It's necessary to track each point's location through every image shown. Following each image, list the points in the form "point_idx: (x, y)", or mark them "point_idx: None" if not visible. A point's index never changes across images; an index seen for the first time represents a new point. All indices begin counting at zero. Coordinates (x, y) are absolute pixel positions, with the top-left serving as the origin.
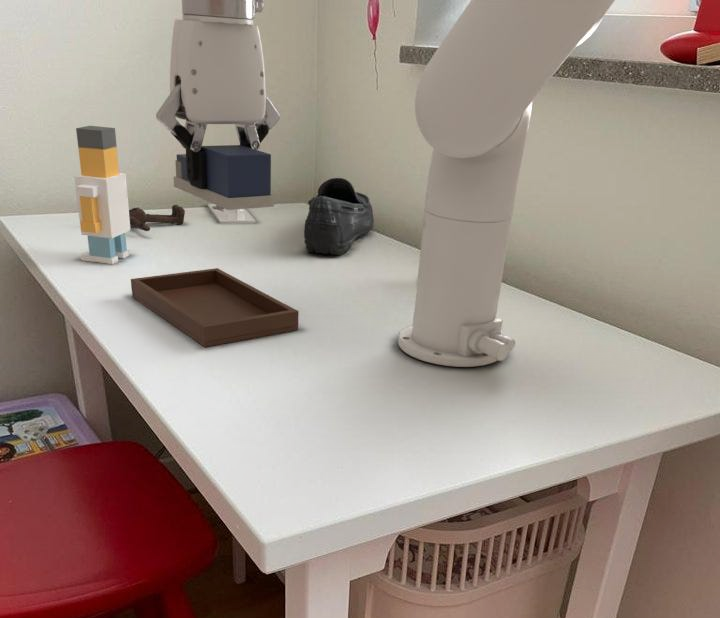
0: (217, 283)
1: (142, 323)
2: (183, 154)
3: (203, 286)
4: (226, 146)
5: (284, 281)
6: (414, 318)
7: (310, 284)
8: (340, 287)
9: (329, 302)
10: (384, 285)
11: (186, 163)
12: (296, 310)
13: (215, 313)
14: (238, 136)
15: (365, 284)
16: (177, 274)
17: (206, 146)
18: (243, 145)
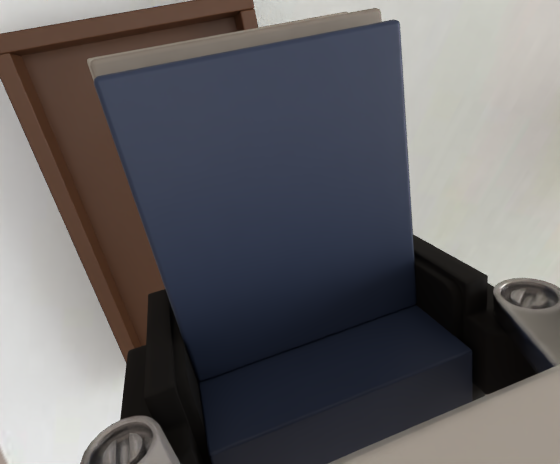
0: (236, 26)
1: (27, 237)
2: (150, 88)
3: (197, 38)
4: (373, 423)
5: (394, 16)
6: None
7: (432, 56)
8: (471, 93)
9: (410, 179)
10: (543, 102)
11: (124, 389)
12: None
13: None
14: (518, 333)
15: (520, 86)
16: (129, 26)
17: (253, 461)
18: (479, 364)
